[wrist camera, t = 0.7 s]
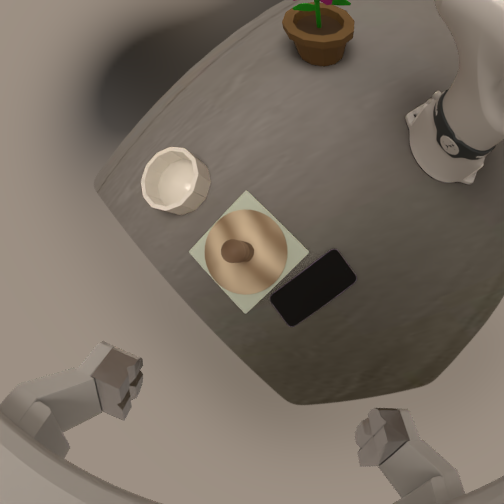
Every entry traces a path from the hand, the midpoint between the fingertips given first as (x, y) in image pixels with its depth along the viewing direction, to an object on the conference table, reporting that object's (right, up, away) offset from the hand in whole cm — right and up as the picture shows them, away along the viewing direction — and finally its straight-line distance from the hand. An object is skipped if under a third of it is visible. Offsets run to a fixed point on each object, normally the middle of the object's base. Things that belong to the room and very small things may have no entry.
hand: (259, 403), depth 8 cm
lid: (-1, +5, +42) cm, 42 cm away
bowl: (-14, +18, +46) cm, 51 cm away
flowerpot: (+15, +49, +40) cm, 65 cm away
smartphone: (+11, -1, +40) cm, 42 cm away
